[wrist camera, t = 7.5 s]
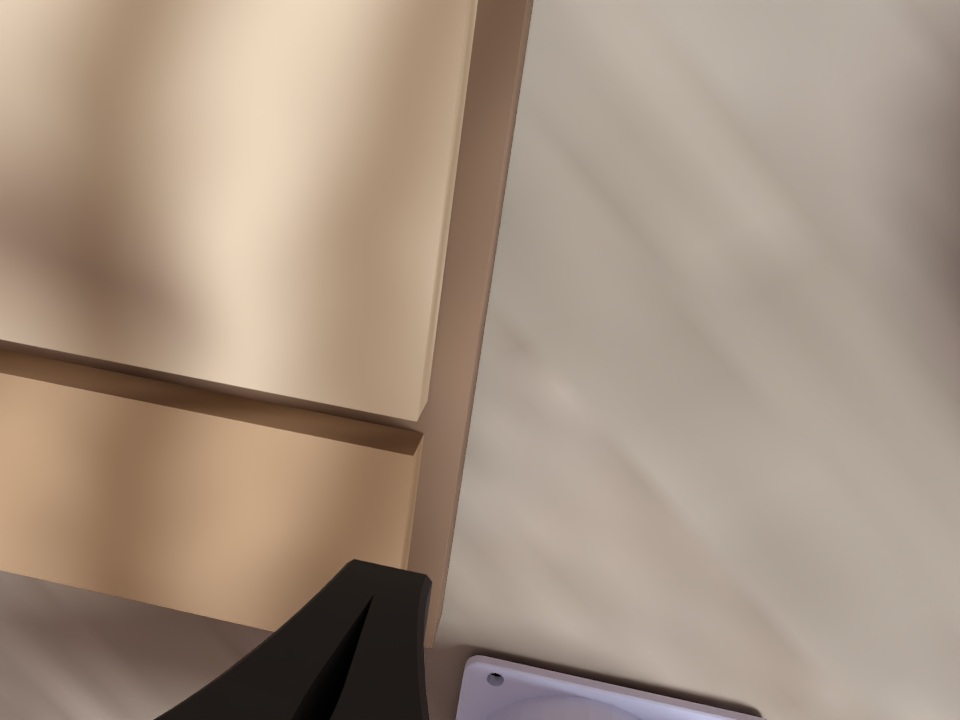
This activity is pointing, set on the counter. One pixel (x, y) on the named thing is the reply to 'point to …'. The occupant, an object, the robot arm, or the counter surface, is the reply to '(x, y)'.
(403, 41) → the oak plank
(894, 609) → the counter surface
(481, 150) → the board
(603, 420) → the counter surface
